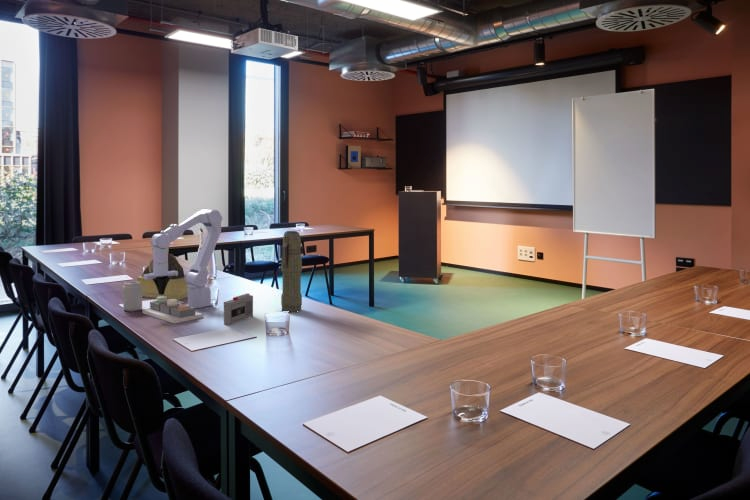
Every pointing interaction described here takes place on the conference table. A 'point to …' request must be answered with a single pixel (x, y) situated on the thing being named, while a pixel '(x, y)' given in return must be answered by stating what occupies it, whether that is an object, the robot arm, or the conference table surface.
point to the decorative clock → (174, 286)
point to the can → (132, 296)
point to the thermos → (291, 272)
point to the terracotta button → (182, 307)
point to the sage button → (161, 299)
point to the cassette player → (238, 309)
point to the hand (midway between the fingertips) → (161, 294)
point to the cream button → (172, 302)
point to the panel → (171, 312)
